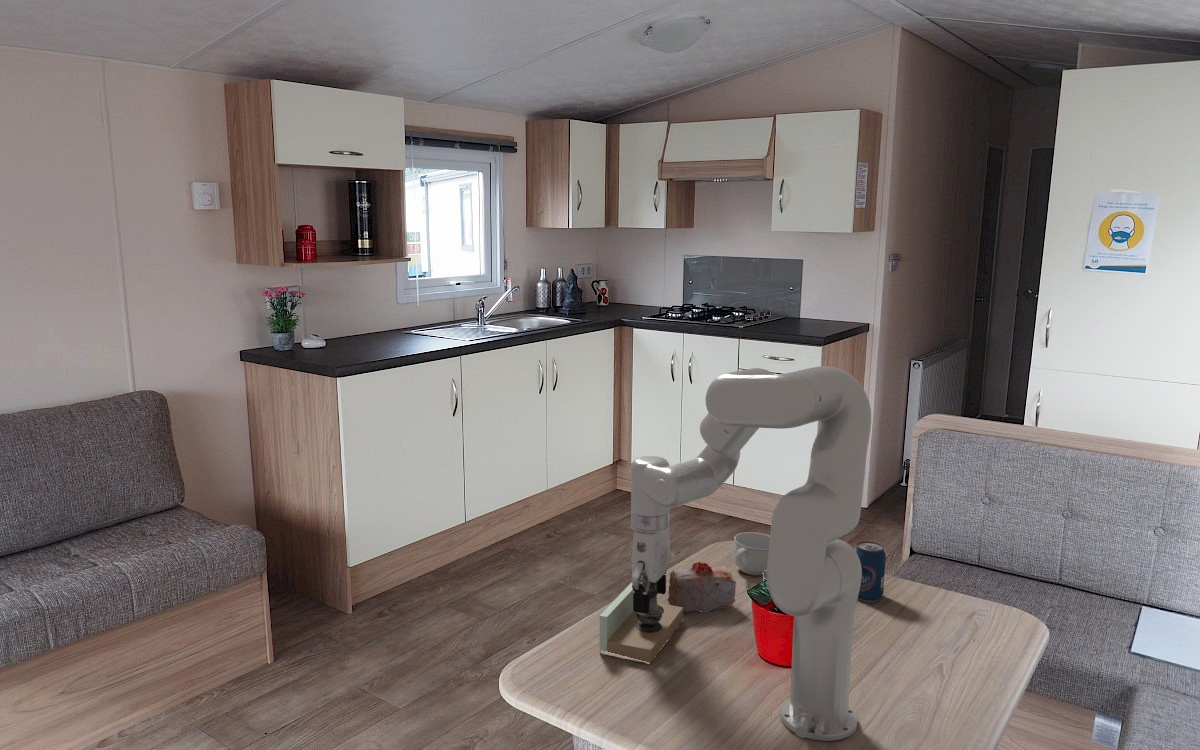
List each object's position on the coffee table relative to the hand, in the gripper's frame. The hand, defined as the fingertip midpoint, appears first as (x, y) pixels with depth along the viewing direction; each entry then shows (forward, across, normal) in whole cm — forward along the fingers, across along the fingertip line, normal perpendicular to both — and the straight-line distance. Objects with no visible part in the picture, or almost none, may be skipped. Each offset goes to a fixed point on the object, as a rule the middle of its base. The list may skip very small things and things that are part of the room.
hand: (649, 602), depth 171 cm
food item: (+9, +20, -5) cm, 22 cm away
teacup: (+8, +42, -11) cm, 44 cm away
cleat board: (+8, +1, +1) cm, 8 cm away
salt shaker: (+6, 0, 0) cm, 6 cm away
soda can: (+9, +39, -38) cm, 55 cm away
